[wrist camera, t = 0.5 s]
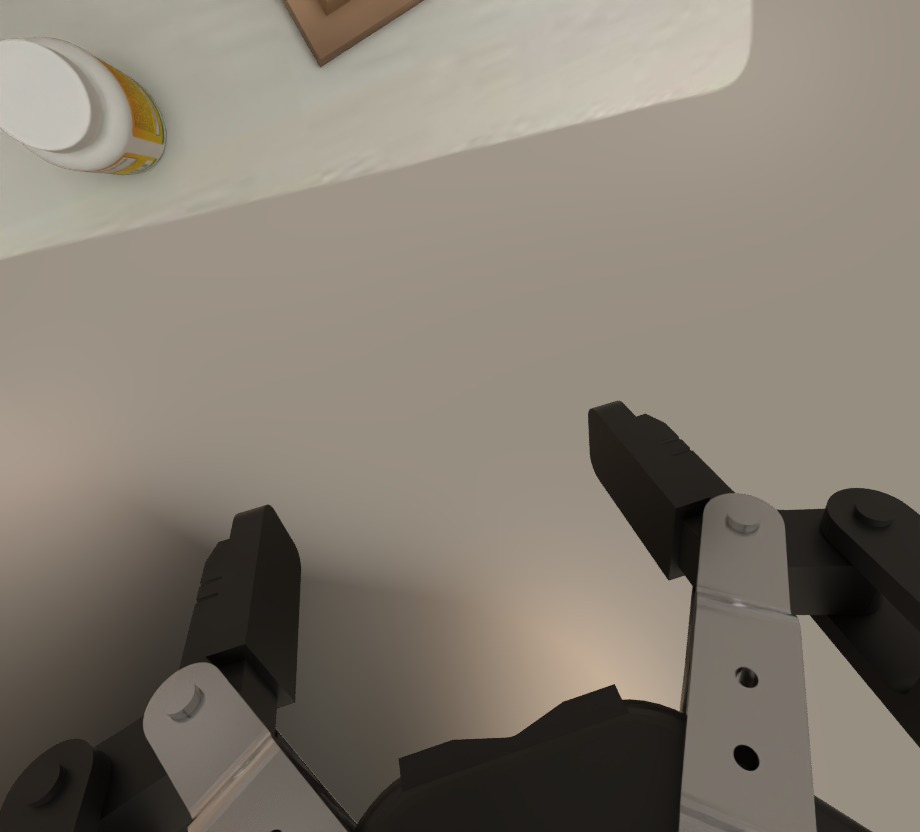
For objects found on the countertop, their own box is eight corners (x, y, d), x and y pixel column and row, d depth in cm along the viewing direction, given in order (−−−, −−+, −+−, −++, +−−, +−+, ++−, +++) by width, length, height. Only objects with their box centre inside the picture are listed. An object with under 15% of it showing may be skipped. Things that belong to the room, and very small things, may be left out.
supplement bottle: (147, 193, 31) (81, 196, 22) (47, 136, 28) (-68, 115, 20) (183, 111, 30) (128, 81, 21) (82, 44, 27) (-24, -18, 19)
